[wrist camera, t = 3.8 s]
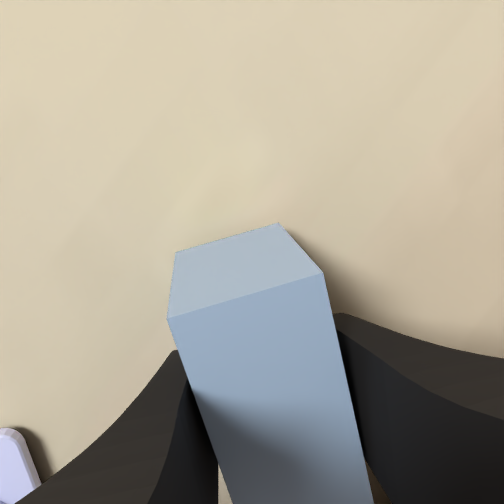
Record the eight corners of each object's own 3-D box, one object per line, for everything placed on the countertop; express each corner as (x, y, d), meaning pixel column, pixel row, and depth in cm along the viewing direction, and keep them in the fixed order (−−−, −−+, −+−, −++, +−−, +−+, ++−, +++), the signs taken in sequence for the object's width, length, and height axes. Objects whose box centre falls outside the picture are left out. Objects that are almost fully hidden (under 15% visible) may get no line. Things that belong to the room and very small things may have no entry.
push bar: (290, 599, 15) (324, 757, 11) (175, 252, 11) (166, 319, 7) (365, 574, 15) (421, 722, 12) (278, 222, 11) (322, 272, 7)
